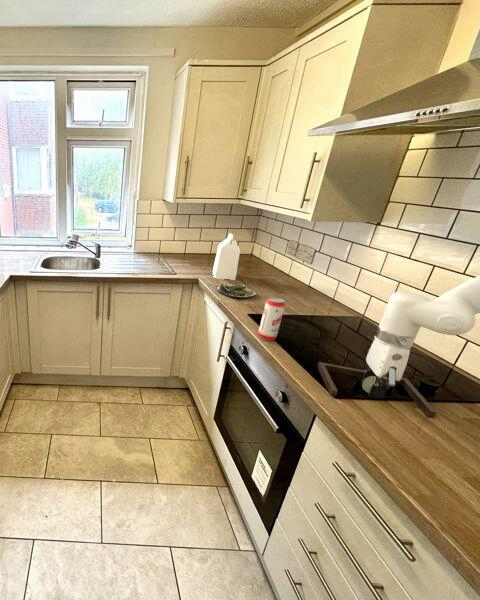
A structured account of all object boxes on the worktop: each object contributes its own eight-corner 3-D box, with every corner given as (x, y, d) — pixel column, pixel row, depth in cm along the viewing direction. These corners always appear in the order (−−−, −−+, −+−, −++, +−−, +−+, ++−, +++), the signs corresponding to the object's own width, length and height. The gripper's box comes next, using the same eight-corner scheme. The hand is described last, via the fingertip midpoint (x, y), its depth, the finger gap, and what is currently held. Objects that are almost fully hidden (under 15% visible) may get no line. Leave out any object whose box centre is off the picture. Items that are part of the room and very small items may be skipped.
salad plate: (236, 285, 179) (238, 277, 177) (264, 295, 164) (266, 287, 162) (210, 289, 172) (211, 281, 170) (237, 301, 157) (238, 292, 155)
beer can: (278, 338, 122) (289, 300, 116) (270, 343, 118) (281, 304, 112) (262, 332, 127) (272, 295, 120) (254, 336, 123) (263, 298, 117)
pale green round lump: (379, 399, 90) (385, 384, 88) (357, 390, 93) (363, 376, 91) (383, 393, 92) (389, 379, 90) (362, 384, 96) (368, 371, 94)
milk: (212, 273, 201) (219, 232, 191) (231, 274, 198) (239, 233, 188) (214, 278, 190) (222, 235, 180) (235, 280, 187) (244, 236, 177)
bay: (404, 383, 96) (407, 378, 95) (433, 418, 83) (436, 412, 82) (317, 367, 104) (318, 361, 103) (330, 395, 91) (332, 390, 90)
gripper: (430, 355, 77) (401, 413, 84) (397, 326, 91) (375, 378, 98) (391, 348, 80) (366, 406, 86) (365, 321, 94) (345, 372, 101)
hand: (371, 390), depth 92 cm, fingers closed on pale green round lump, 5 cm apart
